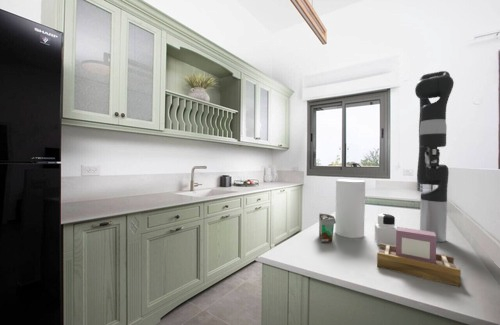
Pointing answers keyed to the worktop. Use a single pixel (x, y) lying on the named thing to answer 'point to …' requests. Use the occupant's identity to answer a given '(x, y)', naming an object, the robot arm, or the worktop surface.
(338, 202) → the cylinder
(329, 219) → the food container
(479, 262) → the worktop surface
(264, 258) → the worktop surface
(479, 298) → the worktop surface
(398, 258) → the wooden serving tray
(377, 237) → the medicine bottle
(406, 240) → the tea box
